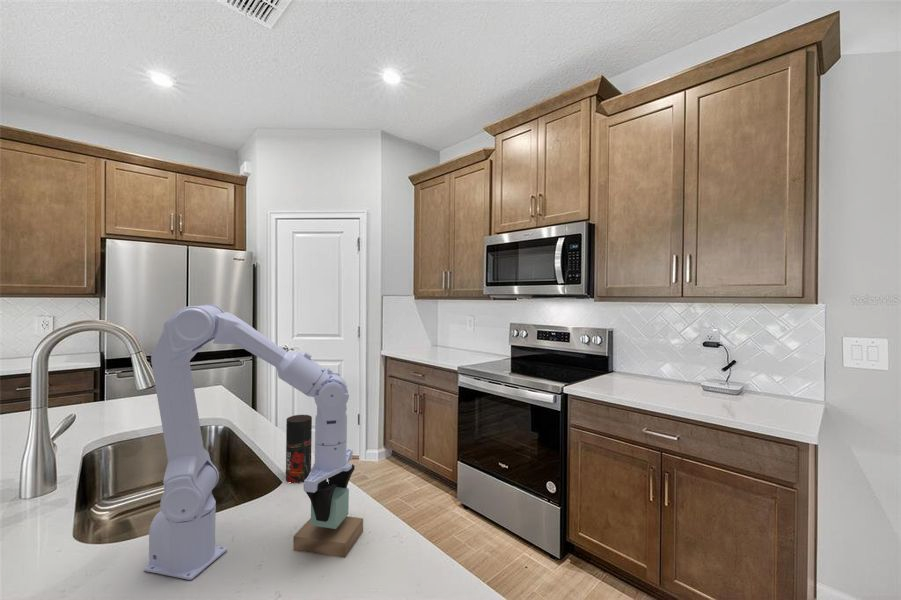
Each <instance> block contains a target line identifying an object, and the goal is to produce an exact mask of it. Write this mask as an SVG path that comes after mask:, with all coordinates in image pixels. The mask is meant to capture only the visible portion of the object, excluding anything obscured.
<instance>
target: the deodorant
mask: <svg viewBox="0 0 901 600" xmlns="http://www.w3.org/2000/svg"><path fill="white" fill-rule="evenodd" d="M312 423H313V417H312V416H311V415H309V414H296V415H291V416H289V417H287V418H286V434H285V435H286V437H285V438H286V439H285V441H286V443H285V445H286V446H285V482H286V481H287V482H286V483H288V482H291V483H290V484H292V483H298V484H301V483H300V482H303V483H304V480H305V479H307V477H308V476H309V474H310V472H311V469H312V439H313V438H312V436H313V435H312V431H313V430H312V427H313V426H312V425H313V424H312Z"/></svg>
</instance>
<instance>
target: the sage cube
mask: <svg viewBox="0 0 901 600" xmlns="http://www.w3.org/2000/svg"><path fill="white" fill-rule="evenodd" d="M349 492H350V488H348V487H347V488H341V487H336V488H335V491H334V493H333V496H332V501H331V508H330V515H329V519H328V521H327V522H323V521H317V520H316V517H315V513H314V509H313V506H312V503H311V502H310V518H311V525H313V526H320V527H326V528H332V529H336V528H337V527H338V526H339V525H340V523H341V522H342V521H343V520H344V519H345V518H346V516H349V498H350V496H349V494H350V493H349Z"/></svg>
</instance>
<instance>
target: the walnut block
mask: <svg viewBox="0 0 901 600" xmlns="http://www.w3.org/2000/svg"><path fill="white" fill-rule="evenodd" d="M363 533H364V518H363V517H354V516H349V515H347V516H346V518H345V519H344V520H343V521H342V522H341V523H340V525H339V526H338V527H337V528H336V529H332V528H326V527H320V526H313V525H311V517H310V518H309V519H308V521H306V522H305V523H304V525H302V526H301V527H300V529H299V530H297V532H296V533H295V534H294V535H293V544H292V545H293V547H292V548H293V551H295V552H296V551H297V552H304V553H309V554H317V555H321V556H322V555H324V556H328V557H329V556H330V557H336V558H343V559H346V558H347V556H348V554H349V553H350V552H351V550H352V549H353V547H354V546H355V544H357V543H356V542H357V541H358V539H360V537H361V535H362V534H363Z"/></svg>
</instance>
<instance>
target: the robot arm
mask: <svg viewBox="0 0 901 600" xmlns="http://www.w3.org/2000/svg"><path fill="white" fill-rule="evenodd" d="M211 341H212V342H213V344H215V345H216V344H217V345H219V344H220V345H226V344H227V345H236V346H239V348H242V349H243V350H245V351H247V352H249V353H251V354H252V355H254V356H256V357H258V358H259V359H261V360H263V361H264V362H266V363H268V364H269V365H270V366H273V367H275V368H276V371H277V376H278V378H279V380H281V381H283V382H285V383H287V384H288V385H289V386H291V387H292V388H294V389H296V390H297V391H299V392H301V393H302V394H304V395H306V396H307V397H312V398H314V399H313V400H314V402H315V405H316V415H315V418H314V419H315V421H314V426H315V427H314V463H313V465H312V466H311V472H310V474H309V476H308V477H307V479H305V480H304V482H303V490H304V492H305V494H306V495H307V496H308V498H309V500H310V504H311V503H312V506H313V509H314V513H315V517H316V520H317V521H323V522H327V521H328V519H329V515H330V508H331V501H332V496H333V493H334V491H335V488H336V487H341V488H348V485H349V482H350V479H351V477H352V475H353V473H354V471H355V467H356V466H355V465H354V464H352V463H350V462H349V461H352V460H353V453H354V452H353V451H354V450H353V449H352V448H347V443H348V442H347V439H348V414H347V410H348V408H347V403H348V401H349V397H350V394H349V390H348V385H347V382H346V381H345V379H344V378H343V377H342V376H341V375H340V374H339V372H334V370H333V369H331V368H330V367H328V368H325V367H323V365H321V364H319V363H318V362H316V361H315V360H313V359H312V354H311V353H308V352H307V351H305V353H303V352H301V351H297V350H296V351H291V352H288V351H286V350H285V349H284V348H282V347H281V346H279V345H278V344H276V343H275V342H274V341H272V340H271V339H270V338H268V337H267V336H266V335H264V334H262V333H261V332H259V331H258V330H256V329H255V328H254V327H253V326H251V325H250V324H248V323H247V322H246V321H244V320H242V319H241V318H239V317H238V316H237V315H234V314H232V313H230V312H229V311H226V312H225V311H224V310H223V309H222V308H221V307H220V306H217V305H215V304H212V303H205V304H201V305H188V306H185V307H182V308H180V309H179V310H177V311H176V312H175V313H174V314H173V315H171V316H170V317H169V318H168V319H167V320H165V321H164V323H163V330H162V333H161V334H160V337H159V338H158V340H157V343H156V345H155V346H154V349H153V350H152V353H151V355H150V363H151V369H152V373H153V375H152V376H153V381H154V387H155V390H156V398H157V402H158V403H157V404H158V409H159V414H160V416H159V417H160V421H161V429H162V432H163V439H164V446H165V450H166V451H165V452H166V457H167V465H166V468H165V473H164V475H163V476H164V477H163V494H162V496H161V498H160V502H159V507H160V508H159V509H160V510H159V511H158V512H157V513H156V515H155V516H154V517H153V518H152V521H151V523H150V525H149V530H148V564H147V565H145V566H144V567H143V571H145V572H148V573H149V572H150V573H153V574H158V575H164V576H169V577H174V578H179V579H183V580H184V579H185V580H193V579H194V578H196V577H197V576H198V575H199V574H200V573H202V572H203V571H204V570H206V568H207V567H209V566H210V565H211V564H212V563H214V562H215V561H216V560H217V559H218V558H220V557H221V556H222V555H223V554H225V552H227V551H228V547H227V546H225V545H224V546H223V545H218V544H217V545H216V522H217V521H216V518H217V517H216V515H217V514H216V511H217V509H216V508H217V507H216V503H217V502H216V499H215V498H214V495H213V490H214V489H215V488H216V486H217V484H218V482H219V479H220V476H219V475H220V474H219V471H218V469H217V467H216V466H215V465H214V464H213V462H212V461H211V457H210V452H209V451H207V450H206V449H205V447H204V442H203V437H202V431H201V423H200V417H199V412H198V406H197V400H196V399H197V398H196V394H195V392H196V391H195V388H194V380H193V373H192V369H191V363H190V362H191V360H192V359H193V358H194V357H195V356H196V354H197V353H198V352H199V351H200V350H201V349H202V348H203V347H204V346H205V345H206V344H207V343H209V342H211Z"/></svg>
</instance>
